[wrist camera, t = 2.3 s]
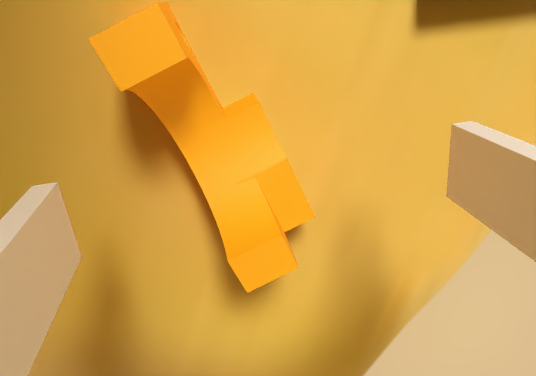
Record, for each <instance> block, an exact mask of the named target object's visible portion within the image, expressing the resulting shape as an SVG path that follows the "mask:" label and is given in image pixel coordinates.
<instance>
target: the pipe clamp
mask: <svg viewBox="0 0 536 376" xmlns="http://www.w3.org/2000/svg"><path fill="white" fill-rule="evenodd" d="M88 40H89V42H90V43H91V45H92V47H93V48H94V50H95V51H96V53H97V55H98V56H99V58H100V59H101V61H102V62H103V64H104V66H105V67H106V69H107V70H108V72H109V74H110V75H111V77H112V78H113V80H114V82H115V83H116V85H117V86H118V88H119V90H120V91H121V92H122V91H124V90H129V91H131V92H133V93H135V94H136V95H138V96H139V97H140V98H141V99H142V100H143V101H144V102H145V103H146V104H147V105H148V106H149V107H150V108H151V109H152V110H153V112H154V113H155V114H156V115H157V117H158V118H159V119H160V120H161V122H162V123H163V124H164V126H165V127H166V129H167V130H168V131H169V133H170V134H171V136H172V137H173V139H174V140H175V142H176V144H177V145H178V147H179V148H180V150H181V152H182V153H183V155H184V157H185V158H186V160H187V162H188V164H189V165H190V167H191V169H192V171H193V173H194V175H195V177H196V178H197V180H198V182H199V184H200V186H201V188H202V190H203V193H204V195H205V197H206V199H207V201H208V203H209V206H210V208H211V210H212V213H213V215H214V218H215V220H216V223H217V225H218V228H219V231H220V234H221V237H222V240H223V243H224V247H225V251H226V255H227V261H228V263H229V265H230V266H231V268H232V269H233V271H234V273H235V274H236V276H237V277H238V279H239V281H240V282H241V284H242V285H243V287H244V289H245V290H246V292H247V293H248V292H250V291H252V290H254V289H256V288H259V287H261V286H263V285H265V284H267V283H269V282H271V281H273V280H275V279H277V278H279V277H281V276H283V275H285V274H287V273H289V272H291V271H293V270H295V269H297V268H299V267H298V264H297V262H296V259H295V257H294V255H293V252H292V250H291V247H290V245H289V242H288V240H287V237H286V235H285V232H286V231H288V230H290V229H292V228H294V227H296V226H298V225H300V224H302V223H304V222H306V221H308V220H310V219H313V218H315V216H314V214H313V212H312V210H311V208H310V206H309V204H308V202H307V199H306V197H305V195H304V193H303V191H302V189H301V187H300V185H299V183H298V181H297V179H296V177H295V174H294V172H293V170H292V168H291V166H290V164H289V162H288V160H287V158H286V156H285V154H284V152H283V150H282V148H281V146H280V144H279V142H278V140H277V138H276V136H275V134H274V132H273V130H272V128H271V126H270V124H269V122H268V120H267V118H266V115H265V113H264V111H263V109H262V107H261V105H260V103H259V101H258V100H257V98H256V97H255V95H254V94H253V93H252V94H250V95H248V96H246V97H244V98H242V99H240V100H238V101H236V102H234V103H232V104H230V105H228V106H226V107H224V108H222V106H221V104H220V103H219V101H218V99H217V97H216V95H215V93H214V91H213V89H212V87H211V85H210V83H209V82H208V80H207V78H206V76H205V74H204V72H203V70H202V68H201V66H200V64H199V62H198V61H197V59H196V57H195V55H194V53H193V51H192V49H191V47H190V45H189V43H188V42H187V40H186V38H185V36H184V34H183V32H182V30H181V28H180V26H179V24H178V22H177V21H176V19H175V17H174V15H173V13H172V11H171V9H170V7H169V5H168V3H156V4H154V5H152V6H150V7H148V8H146V9H144V10H142V11H141V12H139V13H137V14H135V15H133V16H131V17H129V18H127V19H125V20H123V21H121V22H119V23H118V24H116V25H114V26H112V27H110V28H108V29H106V30H104V31H102V32H100V33H98V34H96V35H95V36H93V37H91V38H89V39H88Z"/></svg>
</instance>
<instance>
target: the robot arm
mask: <svg viewBox="0 0 536 376" xmlns="http://www.w3.org/2000/svg"><path fill="white" fill-rule="evenodd" d="M446 196H447V197H448V198H449V199H451V200H452V201H453V202H455V203H456V204H457V205H459V206H460V207H462V208H463V209H464V210H466V211H467V212H468V213H470V214H471V215H472V216H474V217H475V218H477V219H478V220H479V221H481V222H482V223H483V224H485V225H486V226H487V227H489V228H490V229H492V230H493V231H494V232H496V233H497V234H498V235H500V236H501V237H502V238H504V239H505V240H507V241H508V242H509V243H511V244H512V245H513V246H515V247H516V248H517V249H519V250H520V251H522V252H523V253H525V254H526V255H527V256H529V257H530V258H531V259H533V260H534V261H535V262H536V146H535V145H532V144H530V143H527V142H524V141H522V140H519V139H517V138H514V137H512V136H509V135H507V134H504V133H502V132H499V131H496V130H494V129H491V128H489V127H486V126H484V125H481V124H479V123H476V122H474V121H469V122H462V123H456V124H452V127H451V141H450V155H449V168H448V182H447V195H446ZM81 258H82V256H81V253H80V250H79V247H78V244H77V241H76V238H75V234H74V231H73V228H72V225H71V222H70V219H69V216H68V213H67V210H66V206H65V203H64V200H63V197H62V194H61V191H60V188H59V185H58V182H55V183H48V184H41V185H34V186H31V187H30V189H29V190H28V191H27V192H26V193H25V194H24V195H23V196H22V197H21V198H20V199H19V200H18V201H17V203H16V204H15V205H14V206H13V207H12V208H11V209H10V210H9V211H8V212H7V213H6V214H5V215H4V217H3V218H2V219H1V220H0V376H28V374H29V372H30V370H31V367H32V365H33V363H34V361H35V359H36V356H37V354H38V352H39V350H40V348H41V345H42V343H43V341H44V339H45V337H46V334H47V332H48V330H49V328H50V326H51V323H52V321H53V319H54V317H55V315H56V313H57V310H58V308H59V306H60V304H61V302H62V299H63V297H64V295H65V293H66V291H67V288H68V286H69V284H70V282H71V280H72V277H73V275H74V273H75V271H76V269H77V266H78V264H79V262H80V260H81Z"/></svg>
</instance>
